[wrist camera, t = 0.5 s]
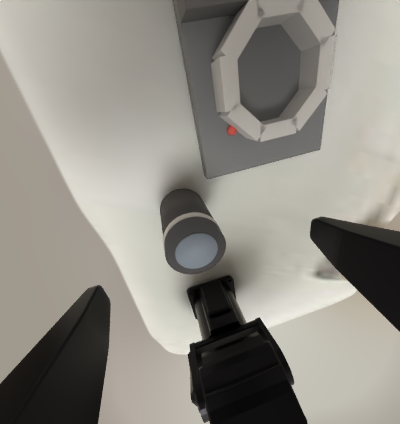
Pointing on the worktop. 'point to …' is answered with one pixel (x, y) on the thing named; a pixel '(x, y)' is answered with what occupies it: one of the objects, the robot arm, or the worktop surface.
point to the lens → (190, 233)
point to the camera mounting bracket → (256, 77)
